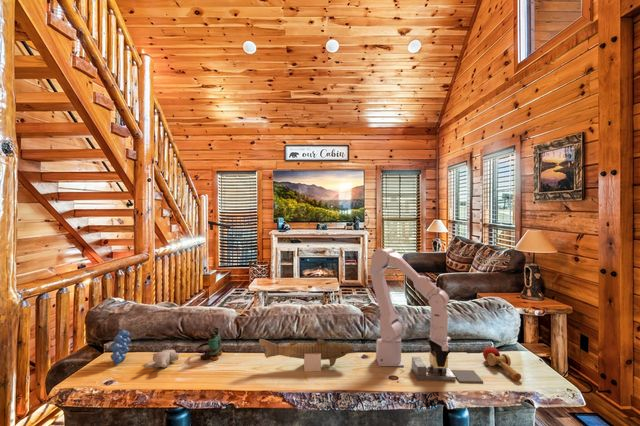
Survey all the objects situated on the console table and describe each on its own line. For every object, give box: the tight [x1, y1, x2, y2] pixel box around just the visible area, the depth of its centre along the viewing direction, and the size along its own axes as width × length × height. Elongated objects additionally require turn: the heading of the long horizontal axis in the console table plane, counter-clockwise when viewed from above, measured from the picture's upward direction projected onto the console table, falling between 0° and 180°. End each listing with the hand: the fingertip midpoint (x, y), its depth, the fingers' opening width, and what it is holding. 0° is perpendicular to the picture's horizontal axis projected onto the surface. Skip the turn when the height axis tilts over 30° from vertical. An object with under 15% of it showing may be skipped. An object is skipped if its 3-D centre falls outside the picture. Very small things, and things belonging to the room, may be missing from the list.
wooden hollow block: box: [428, 350, 449, 368], centre depth 124 cm, size 5×5×4 cm
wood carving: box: [258, 337, 354, 372], centre depth 129 cm, size 9×35×11 cm, turn 94°
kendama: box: [482, 346, 522, 382], centre depth 128 cm, size 8×6×18 cm
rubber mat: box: [450, 369, 484, 384], centre depth 122 cm, size 8×8×1 cm
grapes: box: [109, 329, 132, 366], centre depth 132 cm, size 12×7×12 cm, turn 5°
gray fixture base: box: [410, 356, 457, 382], centre depth 124 cm, size 13×9×7 cm
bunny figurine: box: [143, 349, 180, 369], centre depth 130 cm, size 10×5×15 cm
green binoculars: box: [196, 327, 223, 361], centre depth 138 cm, size 9×11×10 cm
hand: (438, 362), depth 124 cm, fingers closed on wooden hollow block, 5 cm apart
